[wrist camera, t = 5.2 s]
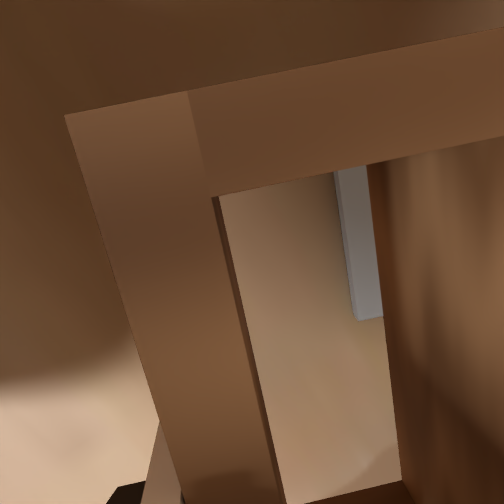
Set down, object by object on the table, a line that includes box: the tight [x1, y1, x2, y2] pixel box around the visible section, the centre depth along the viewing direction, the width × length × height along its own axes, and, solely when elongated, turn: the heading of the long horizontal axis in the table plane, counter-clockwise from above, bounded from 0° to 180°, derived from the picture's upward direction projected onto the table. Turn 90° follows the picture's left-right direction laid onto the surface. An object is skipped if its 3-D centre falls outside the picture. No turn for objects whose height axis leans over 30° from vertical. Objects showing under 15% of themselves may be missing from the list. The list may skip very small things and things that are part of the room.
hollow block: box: [64, 27, 504, 504], centre depth 10 cm, size 16×8×6 cm, turn 11°
